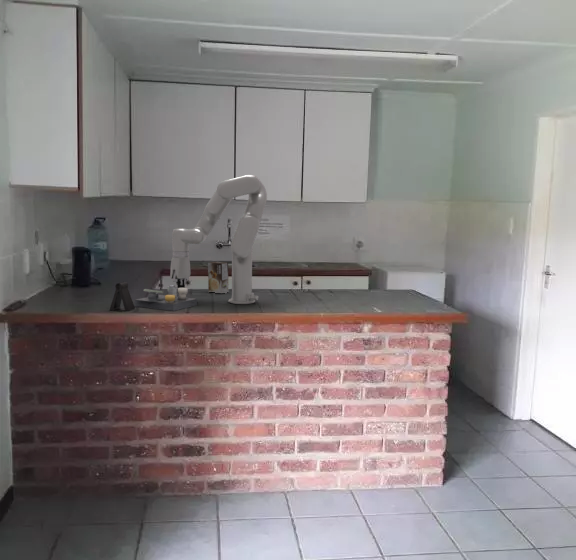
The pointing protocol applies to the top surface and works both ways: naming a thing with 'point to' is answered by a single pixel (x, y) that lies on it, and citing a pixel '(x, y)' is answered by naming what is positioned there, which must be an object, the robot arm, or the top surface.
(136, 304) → the console
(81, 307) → the top surface
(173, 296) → the amber button
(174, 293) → the slider knob
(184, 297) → the ivory button
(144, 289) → the rocker paddle
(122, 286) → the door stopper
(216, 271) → the coffee box
